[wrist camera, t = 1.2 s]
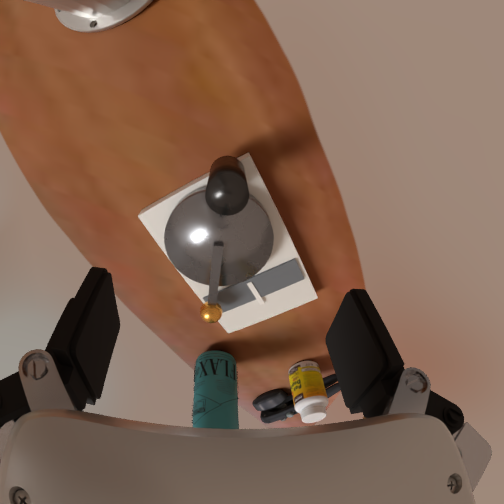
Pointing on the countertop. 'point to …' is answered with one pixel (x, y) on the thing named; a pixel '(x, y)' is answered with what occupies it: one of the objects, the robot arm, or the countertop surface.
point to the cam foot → (219, 233)
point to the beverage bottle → (215, 391)
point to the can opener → (286, 402)
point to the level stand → (261, 284)
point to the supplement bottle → (308, 391)
